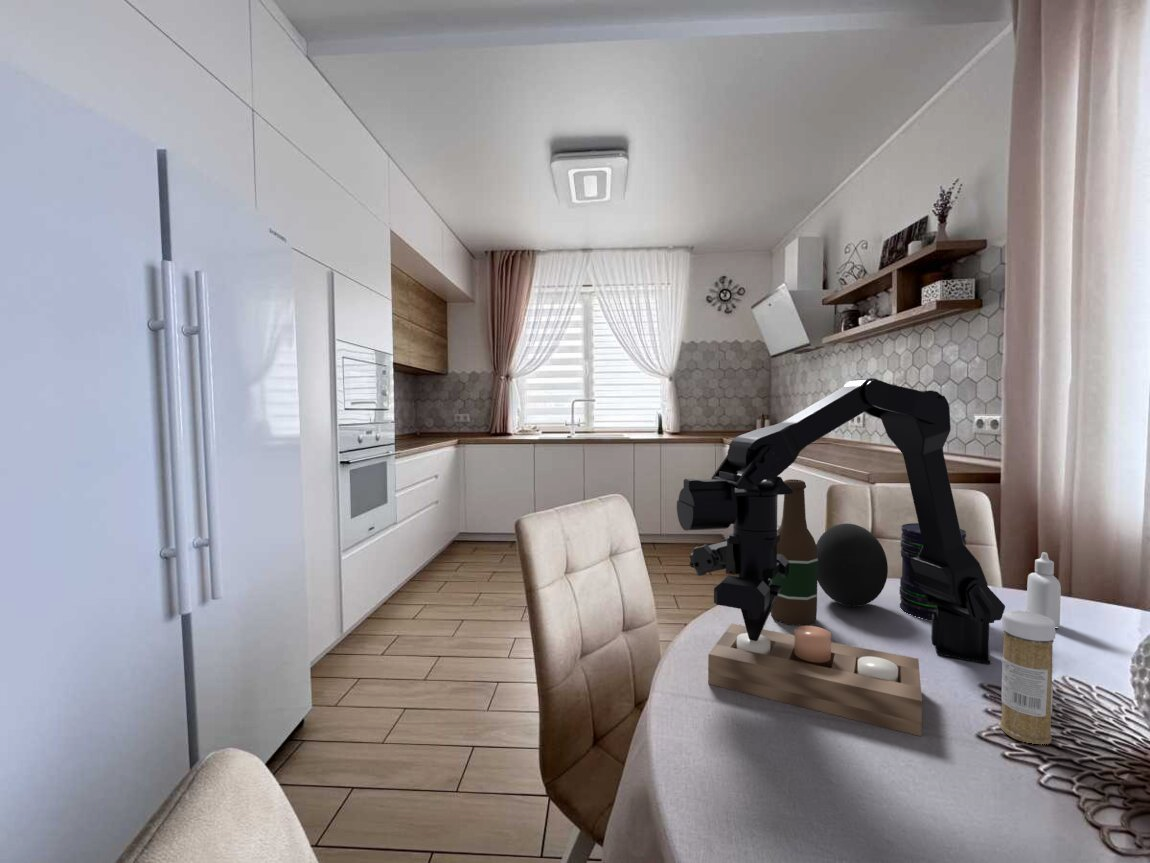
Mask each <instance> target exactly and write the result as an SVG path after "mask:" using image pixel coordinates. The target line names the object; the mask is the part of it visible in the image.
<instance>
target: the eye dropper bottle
mask: <svg viewBox="0 0 1150 863" xmlns="http://www.w3.org/2000/svg"><path fill="white" fill-rule="evenodd" d="M1040 555H1041V556H1040V558H1037V559H1035V560H1034V572H1030V573H1029V574H1028V575H1027V585H1026V588H1027V590H1026V611H1027V612H1032V613H1037V614H1040V615H1043V616H1046V617H1048V618H1050V619H1052V620H1053V621H1054V622H1055V627H1059V628H1060V626H1061V625H1060V624H1061V599H1062V598H1061V596H1062V595H1061V593H1062V592H1061V591H1062V590H1061V589H1062V588H1061V582H1060V581H1059V579H1058V578H1057V577H1055V576H1054V573H1055V562H1054V561H1053V560H1051V559H1050V558H1049V555H1048V553H1047V552H1046V551H1044V552H1041V554H1040Z"/></svg>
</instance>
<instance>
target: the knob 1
mask: <svg viewBox="0 0 1150 863" xmlns="http://www.w3.org/2000/svg"><path fill="white" fill-rule="evenodd" d="M737 649H741V650H746V651H750V652H755V653H760V654H765V655H769V654H770V639H769V638H767V637H765V636H763V635H760V637H759V639H758V640H757V641H753V640H750V639H749V637H748V633H743V634H740V635H738V636H737Z"/></svg>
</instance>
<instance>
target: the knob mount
mask: <svg viewBox="0 0 1150 863" xmlns="http://www.w3.org/2000/svg"><path fill="white" fill-rule="evenodd" d="M743 633H747V630H746V626H745V625H743V624H737V623H731V624H730V625H728V628H727V629H726V630H725V632H724V633H723V634H722V635H721V636H720V638H719V639H718V640H717V642H715V645H713V647H712V648H711V650H710V651H709V652H708V653H707V655H708V658H707V660H708V663H707V664H708V666H707V668H708V670H707V671H708V673H707V679H708V680H707V681H708V682H707V683H708V685H712V686H716V687H721V688H724V689H729V690H731V691H737V692H739V693H740V692H741V693H744V694H747V695H753V696H756V697H760V698H765V699H769V700H773V701H776V702H781V703H783V704H784V703H785V704H788V705H789V704H790V705H793V706H797V707H801V708H805V709H810V710H814V711H818V712H821V713H826V714H829V715H834V716H837V717H842V718H846V719H850V720H854V721H858V722H863V723H866V724H871V725H874V726H878V727H882V728H887V729H891V730H895V731H899V732H903V733H906V734H911V735H915V736H919V737H922V729H923V728H922V724H923V723H922V722H923V721H922V720H923V716H922V715H923V697H922V696H923V694H922V686H921V684H922V683H921V674H920V663H919V662H920V661H919V658H916V657H912V656H906V655H902V654H896V653H891V652H884V651H879V650H874V649H870V648H864V647H859V646H858V647H857V646H853V645H847V644H842V643H837V642H833V641H831V659H830V660H829V661H827V662H810V661H806V660H803V659H801V658H799V657H797V656H796V655H795V653H794V634H790V633H789V634H788V633H785V632H779V631H774V630H769V629H764V628H763V630H762V632H761V634H760V635H763V636H765V637H767V638H769V639H770V654H769V655H765V654H760V653H755V652H750V651H746V650H741V649H737V636H738V635H740V634H743ZM866 656H871V657H879V658H883V659H886V660H889V661H891V662H893V663H894V664H896V665H897V667H898V682H893V681H889V680H884V679H879V678H874V677H870V676H865V675H860V674H857V672H858V659H859V658H861V657H866Z"/></svg>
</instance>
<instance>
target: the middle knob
mask: <svg viewBox="0 0 1150 863" xmlns="http://www.w3.org/2000/svg"><path fill="white" fill-rule="evenodd" d="M793 635H794V653H795V655H796V656H797V657H799V658H801V659H803V660H806V661H810V662H827V661H829V660H830V659H831V642H832V634H831V632H830V631H829V630H827V629H825V628H822V627H819V626H816V625H815V626H813V625H806V626H802V625H797V627H795V628H794V634H793Z"/></svg>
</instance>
